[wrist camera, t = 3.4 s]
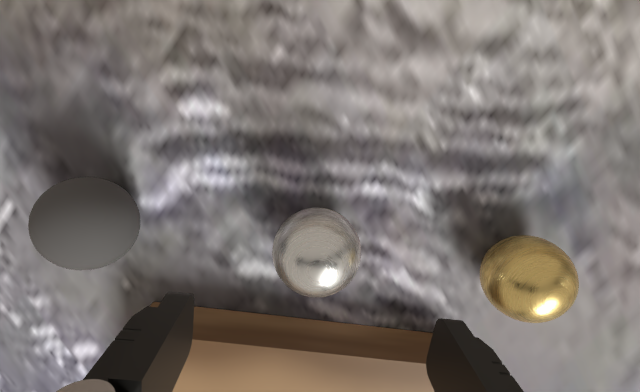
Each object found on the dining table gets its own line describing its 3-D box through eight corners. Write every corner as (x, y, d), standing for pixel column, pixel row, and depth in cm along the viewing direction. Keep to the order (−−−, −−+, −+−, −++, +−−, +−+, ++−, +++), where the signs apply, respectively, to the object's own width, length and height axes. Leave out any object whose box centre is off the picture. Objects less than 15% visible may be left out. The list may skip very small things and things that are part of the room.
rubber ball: (68, 162, 16) (-5, 184, 13) (155, 174, 17) (110, 199, 13) (72, 240, 18) (6, 282, 14) (154, 250, 18) (111, 294, 14)
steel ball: (281, 191, 17) (273, 220, 13) (361, 202, 17) (376, 233, 14) (272, 264, 18) (262, 311, 14) (348, 274, 18) (358, 321, 15)
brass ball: (477, 218, 18) (524, 253, 14) (552, 228, 18) (617, 265, 14) (457, 287, 19) (494, 336, 15) (527, 295, 19) (582, 347, 15)
